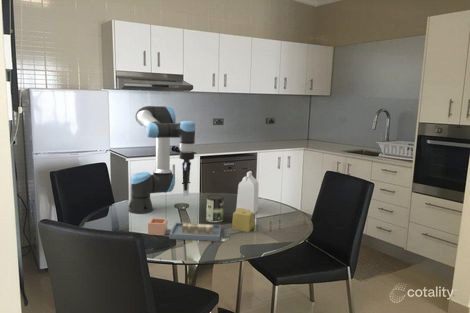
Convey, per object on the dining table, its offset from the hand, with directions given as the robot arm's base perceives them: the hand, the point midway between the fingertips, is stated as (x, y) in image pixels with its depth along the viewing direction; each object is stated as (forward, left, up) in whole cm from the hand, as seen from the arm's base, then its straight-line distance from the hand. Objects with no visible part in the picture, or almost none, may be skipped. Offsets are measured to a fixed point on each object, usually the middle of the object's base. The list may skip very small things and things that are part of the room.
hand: (185, 195), depth 200 cm
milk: (+34, +45, -21) cm, 60 cm away
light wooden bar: (-1, 0, -20) cm, 20 cm away
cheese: (+31, +12, -21) cm, 39 cm away
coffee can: (+14, +25, -21) cm, 35 cm away
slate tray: (+6, 0, -20) cm, 21 cm away
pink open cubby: (-14, 0, -20) cm, 25 cm away
